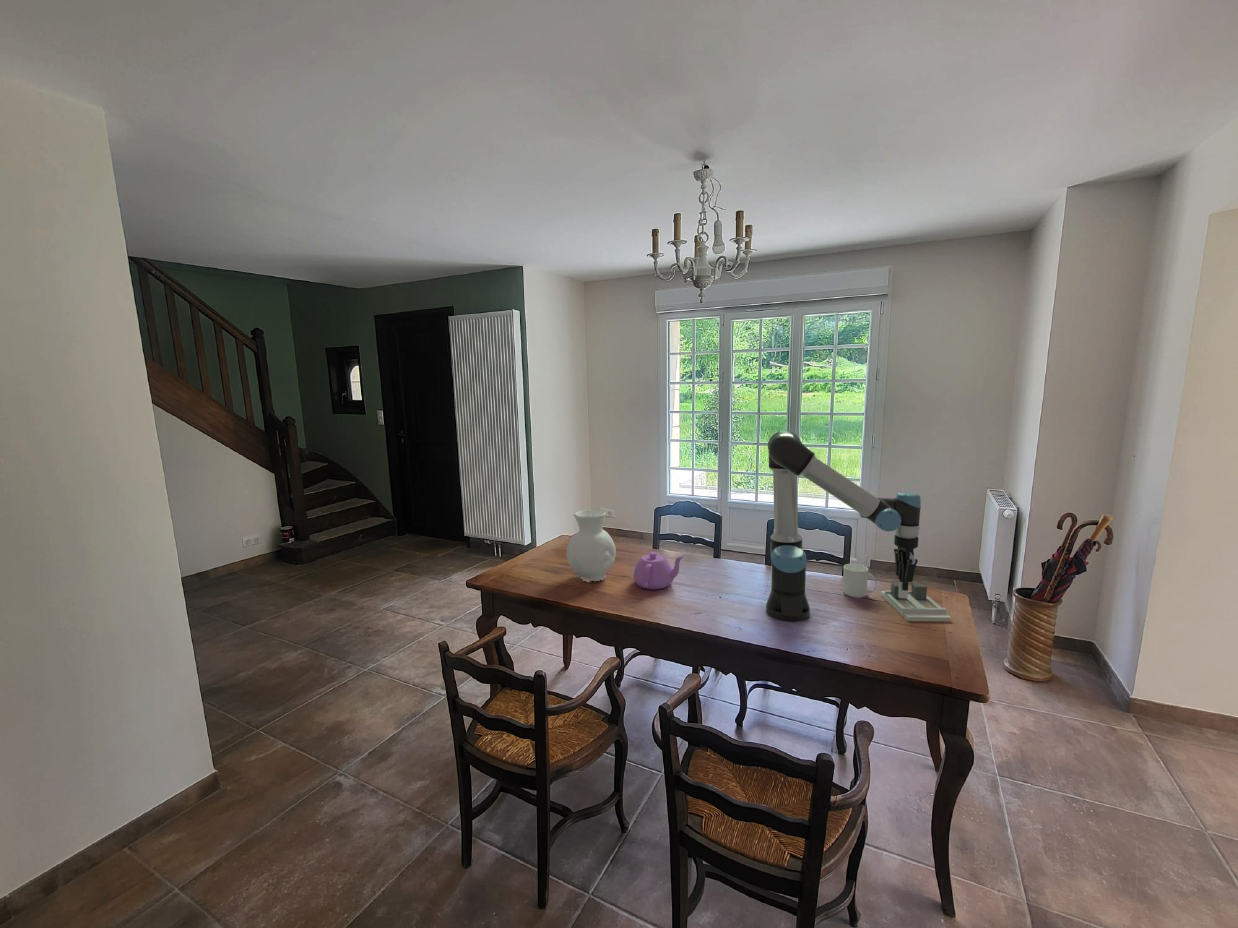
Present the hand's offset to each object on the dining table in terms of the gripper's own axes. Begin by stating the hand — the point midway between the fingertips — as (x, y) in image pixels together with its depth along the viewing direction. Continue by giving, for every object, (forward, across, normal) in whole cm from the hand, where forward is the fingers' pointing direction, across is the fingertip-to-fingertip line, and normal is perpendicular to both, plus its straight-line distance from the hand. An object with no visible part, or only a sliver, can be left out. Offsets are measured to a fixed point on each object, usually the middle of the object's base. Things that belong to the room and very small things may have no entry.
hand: (902, 597), depth 184 cm
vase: (+4, +26, +118) cm, 121 cm away
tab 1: (+2, +4, 0) cm, 4 cm away
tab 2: (+2, +3, -7) cm, 8 cm away
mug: (+4, +10, +11) cm, 16 cm away
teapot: (+4, +20, +89) cm, 92 cm away
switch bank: (+3, -1, -4) cm, 5 cm away
